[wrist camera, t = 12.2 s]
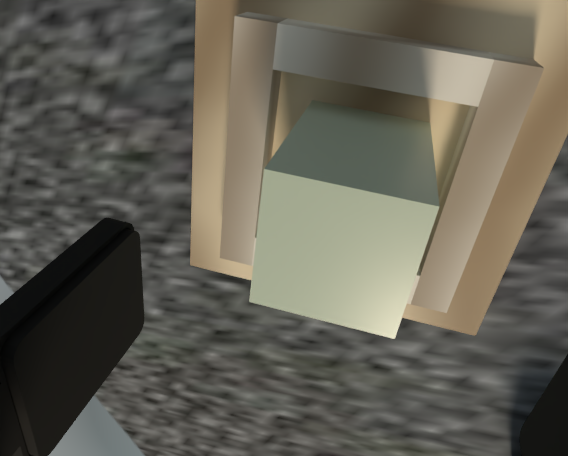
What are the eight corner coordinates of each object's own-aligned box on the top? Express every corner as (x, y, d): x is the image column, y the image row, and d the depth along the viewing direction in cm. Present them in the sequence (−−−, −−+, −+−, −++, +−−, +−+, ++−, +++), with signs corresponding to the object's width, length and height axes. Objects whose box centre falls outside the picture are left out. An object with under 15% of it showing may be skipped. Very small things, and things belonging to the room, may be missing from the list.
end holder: (615, 0, 15) (648, 7, 13) (473, 321, 22) (479, 359, 20) (208, -60, 17) (179, -62, 15) (197, 254, 24) (177, 282, 22)
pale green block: (430, 122, 17) (439, 206, 12) (399, 225, 20) (394, 338, 14) (312, 100, 18) (263, 168, 12) (296, 202, 20) (249, 301, 14)
